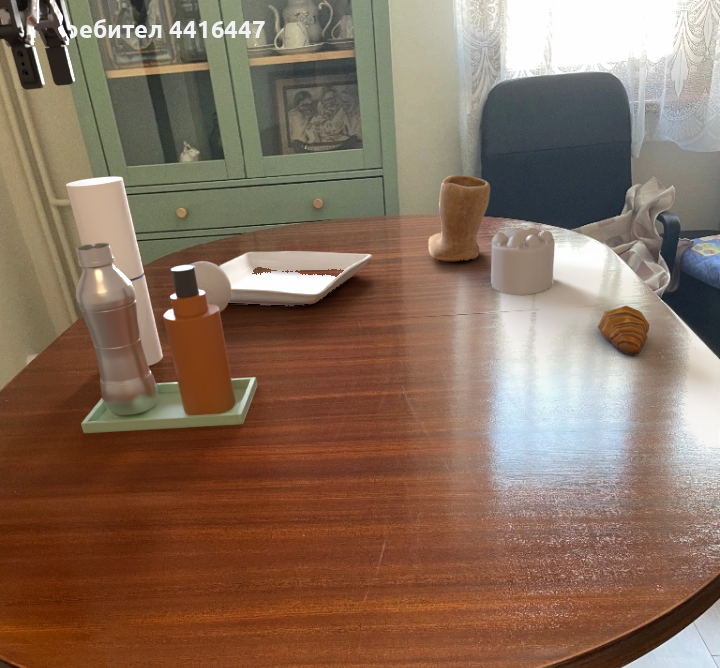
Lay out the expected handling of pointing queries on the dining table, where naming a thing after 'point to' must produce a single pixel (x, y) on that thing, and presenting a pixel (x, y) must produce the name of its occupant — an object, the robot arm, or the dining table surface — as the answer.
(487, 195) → the clay boot
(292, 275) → the square plate
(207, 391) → the amber bottle
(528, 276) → the lumpy-topped squat cylinder
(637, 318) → the croissant
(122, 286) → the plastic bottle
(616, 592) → the dining table surface
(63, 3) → the robot arm
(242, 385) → the tray
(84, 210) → the cylindrical container
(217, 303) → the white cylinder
